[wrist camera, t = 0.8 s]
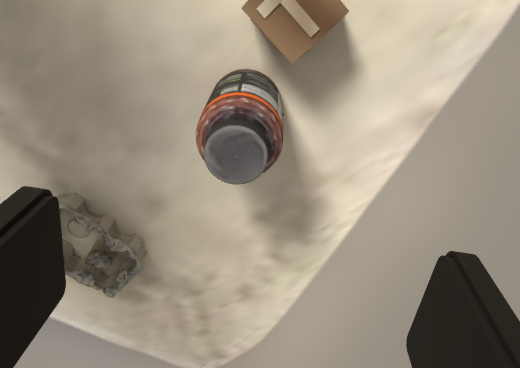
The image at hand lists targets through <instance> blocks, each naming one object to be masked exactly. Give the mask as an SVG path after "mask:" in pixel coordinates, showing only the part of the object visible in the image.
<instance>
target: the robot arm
mask: <svg viewBox="0 0 520 368" xmlns="http://www.w3.org/2000/svg"><path fill="white" fill-rule="evenodd" d="M65 287H66V279H65V268H64V256H63V244H62V233H61V221H60V210H59V201H58V199H57V197H54V196H52V193H51V191H49V190H47V189H40V188H34V187H27V186H23V187H21V188H20V189H19V190H17V191H16V192H15V193H14V194H12V195H11V196H10V197H9V198H7V199H6V200H5V201H4V202H2V203H1V204H0V368H13V367H14V366H15V364H16V363H17V361H18V360H19V358H20V357H21V356H22V354H23V353H24V351H25V350H26V349H27V347H28V346H29V344H30V343H31V341H32V340H33V339H34V337H35V336H36V334H37V333H38V331H39V330H40V329H41V327H42V326H43V324H44V323H45V321H46V320H47V319H48V317H49V316H50V314H51V313H52V311H53V310H54V309H55V307H56V306H57V304H58V303H59V301H60V300H61V298H62V297H63V294H64V292H65ZM406 345H407V352H408V355H409V358H410V362H411V365H412V368H520V321H519V320H518V318H517V317H516V315H515V314H514V312H513V310H512V309H511V308H510V306H509V304H508V303H507V301H506V300H505V298H504V297H503V295H502V294H501V292H500V291H499V289H498V287H497V286H496V284H495V283H494V281H493V280H492V278H491V277H490V275H489V273H488V272H487V270H486V269H485V267H484V266H483V264H482V263H481V261H480V260H479V258H478V257H477V256H476V255H474V254H468V253H461V252H454V251H450V252H448V253H447V254H446V256H440V257H439V259H438V261H437V263H436V265H435V268H434V270H433V273H432V275H431V278H430V280H429V283H428V286H427V288H426V291H425V293H424V296H423V298H422V301H421V303H420V306H419V308H418V311H417V313H416V316H415V318H414V321H413V323H412V326H411V328H410V331H409V333H408V336H407V344H406Z"/></svg>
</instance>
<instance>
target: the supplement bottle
mask: <svg viewBox="0 0 520 368" xmlns="http://www.w3.org/2000/svg"><path fill="white" fill-rule="evenodd" d="M282 116H283V114H282V102H281V97H280V94H279V91H278V89H277V87H276V85H275V84H274V83H273V81H272V80H271V79H269V78H268V77H267V76H266V75H264V74H262V73H260V72H258V71H255V70H250V69H246V70H237V71H234V72H231V73H229V74H227V75H226V76H225V77H223V78H222V79H221V80H220V81H219V82H218V83H217V85H216V86H215V88H214V90H213V92H212V94H211V96H210V98H209V100H208V102H207V104H206V106H205V108H204V110H203V112H202V115H201V117H200V120H199V122H198V125H197V130H196V142H197V147H198V150H199V153H200V155H201V157H202V158H203V160H204V161H205V163H206V165H207V167H208V169H209V170H210V172H211V173H212V174H213V175H214V176H215V177H217V178H218V179H220V180H221V181H224V182H226V183H230V184H245V183H248V182H251V181H253V180H255V179H256V178H257V177H259V176H260V175H261V174H262V173H264V172H265V171H267V170H268V169H269V168H270V167H271V166H272V165H273V164H274V163H275V161H276V160H277V158H278V157H279V155H280V152H281V149H282V143H283V119H282Z"/></svg>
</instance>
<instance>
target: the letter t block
mask: <svg viewBox="0 0 520 368" xmlns="http://www.w3.org/2000/svg"><path fill="white" fill-rule="evenodd" d="M242 9H243V11H244V12H245V13H246V14H247V15H248V16H249V17H250V18H251V20H252V22H253V23H254V24H255V25H256V26H257V27H258V28H259V29H260V30H261V32H262V33H263V34H264V35H265V36H266V37H267V38H268V39H269V40H270V42H271V43H272V44H273V45H274V46H275V47H276V48H277V49H278V50H279V52H280V53H281V54H283V55H284V56H285V57H286V58H287V59H288V61H289V62H290V63H291V64H293V63H294V62H295V61H296V60H297V59H299V58H300V57H301V56H302V55H303V54H304V53H305V52H306V51H307V50H308V49H309V48H310V47H311V46H313V45H314V44H315V43H316V42H317V41H318V40H319V39H320V38H321V37H322V36H323V35H324V34H326V33H327V32H328V31H329V30H330V29H331V28H332V27H333V26H334V25H335V24H336V23H337V22H338V21H340V20H341V19H342V18H343V17H344V16H345V15H346V14H347V13H348V12H349V10H348V9H347V8H346V7H345V5H344V4H343V3H342V2H341V0H248V1H247V2H246V3H245V4H244V6H243V7H242Z"/></svg>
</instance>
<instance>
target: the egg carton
mask: <svg viewBox="0 0 520 368" xmlns="http://www.w3.org/2000/svg"><path fill="white" fill-rule="evenodd" d="M57 199H58V201H59V210H60V209H63V208H64V209H69V210H70V211H71V212H72V213H73V214H74V215H75V219H71V220H70V221H69V222H68V224H67V225H68V230H69V232H70V233H71V234H72V235H74V236H76V237H86V236H87V235H89V233H90V230H93V229H94V228H95V227H97V228H98V229H99V231H100V232H101V233H102V234H103V231H105V232H106V233H105V234H103V235H102V236H103V237H104V238H101V239H99V240H98V241H97V242H96V244H95V245H94V247H93V248H92V250H91V251H90V253H89V254H88V256H87V257H86V258H83V259H82V258H80V257H78V256H75V255H74V254H73V253H74V248H73V246H72V245H71V243H69V242H68V241H66V240H63V239H62V244H63V256H64V268H65V274H66V275H68V276H70V277H72V278H74V279H75V280H76V281H77V282H78V283H81V284H84V285H86V286H89V287H94V288H95V289H97V290H103V292H104V293H105V295H107V296H108V297H111V298H112V297H113V296H114V295H115V294H116V293H117V292H118V291H120V290H121V289H122V288H123V287H124V286H125V285H126V284H127V283H128V282H129V281H130V280H132V279H133V278H134V277H135V276H136V275H137V273H138V272H140V271H141V269H142V268H143V266H142V264H141V263H142V261H143V259H144V256H145V255H146V251H145V250H144V249H143V247H142V241H143V238H142V237H141V236H139V235H138V234H133V235H131V236H123V235H121V234H119V233H118V232H117V231H116V230H115V228H114V221H115V219H114V218H113V217H111V216H110V215H108V214H105V215H103V216H99V217H98V216H93V215H91V214H89V213H88V212H87V211H86V209H85V207H84V201H85V199H84V198H83V197H82V196H80V195H79V194H74V195H73V196H70V197H67V196H63V195H59V196H57ZM60 211H61V210H60ZM123 251H128V254H127V255H128V257H127V258H126V259H125V260H124V262H123V264H122V266H121V268H120V270H119V272H118V273H117V274H114V275H111V276H107V275H105V274H103V273H102V272H101V269H102V268H107V267H108V266H110V265H111V264H112V262H113V260H114V258H115V256H116V254H117V252H120V253H121V252H123Z"/></svg>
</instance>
